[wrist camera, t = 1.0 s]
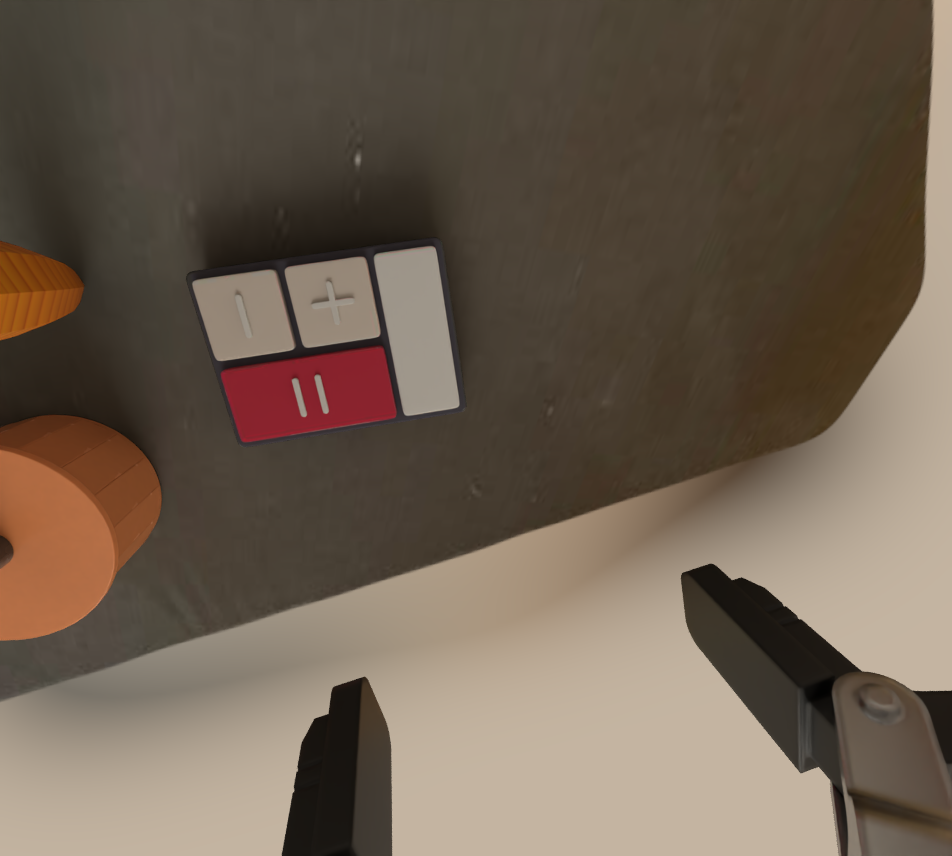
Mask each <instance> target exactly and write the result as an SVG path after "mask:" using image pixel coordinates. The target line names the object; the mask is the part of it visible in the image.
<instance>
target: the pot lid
mask: <svg viewBox="0 0 952 856" xmlns="http://www.w3.org/2000/svg"><path fill="white" fill-rule="evenodd" d="M118 555H119V549H118V542H117V537H116V533H115V530H114V527H113V524H112V522H111V520H110V518H109V516H108V514H107V512H106V511H105V509H104V508H103V506H102V505H101V503H100V502H99V501H98V499H97V498H96V497H95V496H94V495H93V494H92V492H91V491H90V490H89V489H88V488H87V487H85V486H84V485H83V484H82V483H81V482H80V481H79V480H78V479H76V478H75V477H74V476H72V475H71V474H69V473H68V472H67V471H65V470H64V469H62V468H60V467H58V466H57V465H55V464H53V463H52V462H49V461H47V460H45V459H43V458H41V457H38V456H36V455H34V454H31V453H28V452H25V451H22V450H19V449H15V448H10V447H6V446H2V445H0V640H21V639H28V638H35V637H39V636H44V635H48V634H51V633H54V632H56V631H59V630H62V629H64V628H66V627H68V626H70V625H72V624H74V623H76V622H77V621H79V620H80V619H82V618H83V617H85V616H86V615H87V614H88V613H89V612H90V611H92V610H93V609H94V608H95V607H96V606H97V604H98V603H99V602H100V601H101V600H102V599H103V597H104V596H105V595H106V593H107V592H108V590H109V588H110V587H111V585H112V583H113V580H114V578H115V575H116V571H117V566H118Z"/></svg>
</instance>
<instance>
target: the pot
mask: <svg viewBox="0 0 952 856" xmlns="http://www.w3.org/2000/svg"><path fill="white" fill-rule="evenodd" d="M0 445H2V446H6V447H10V448H15V449H19V450H22V451H25V452H28V453H31V454H34V455H36V456H38V457H41V458H43V459H45V460H47V461H49V462H52V463H53V464H55V465H57V466H58V467H60V468H62V469H64V470H65V471H67V472H68V473H69V474H71V475H72V476H74V477H75V478H76V479H78V480H79V481H80V482H81V483H82V484H83V485H84V486H85V487H87V488H88V489H89V490H90V491H91V492H92V494H93V495H94V496H95V497H96V498H97V499H98V501H99V502H100V503H101V505H102V506H103V508H104V509H105V511H106V512H107V514H108V516H109V518H110V520H111V522H112V524H113V527H114V530H115V533H116V537H117V542H118V549H119V555H118V566H117V571H116V573H117V572H118V570H119V569H120V568H121V567H122V566H123V565H124V564H125V563H126V562H127V561H128V559H129V558H130V557H131V556H132V555H133V554H134V553H135V552H136V551H137V550H138V548H139V547H140V546H141V545H142V544H143V543H144V542H145V541H146V540H147V538H148V537H149V535H150V533H151V531H152V530H153V528H154V526H155V525H156V523H157V520H158V518H159V515H160V510H161V502H162V496H161V487H160V484H159V480H158V477H157V475H156V472H155V470H154V468H153V466H152V465H151V463H150V461H149V460H148V459H147V457H146V456H145V455H144V454H143V452H142V451H141V450H140V449H139V448H138V447H137V446H136V445H135V444H134V443H132V442H131V441H130V440H129V439H127V438H126V437H125V436H123V435H122V434H120V433H119V432H117V431H115V430H114V429H112V428H110V427H108V426H105V425H103V424H101V423H98V422H95V421H93V420H89V419H85V418H81V417H76V416H69V415H44V416H38V417H33V418H29V419H26V420H23V421H19V422H16V423H12V424H8V425H6V426H3V427H1V428H0Z"/></svg>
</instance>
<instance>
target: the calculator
mask: <svg viewBox="0 0 952 856" xmlns="http://www.w3.org/2000/svg"><path fill="white" fill-rule="evenodd" d="M186 281H187V284H188V288H189V291H190V294H191V297H192V300H193V303H194V306H195V310H196V313H197V316H198V319H199V322H200V325H201V329H202V332H203V335H204V338H205V341H206V344H207V348H208V351H209V354H210V357H211V360H212V363H213V366H214V370H215V373H216V376H217V379H218V382H219V385H220V389H221V392H222V395H223V398H224V401H225V404H226V408H227V411H228V414H229V417H230V420H231V423H232V426H233V430H234V433H235V436H236V439H237V442H238V444H239V445H240V446H242V447H251V446H258V445H264V444H270V443H276V442H282V441H288V440H294V439H300V438H306V437H313V436H319V435H325V434H331V433H337V432H343V431H349V430H355V429H361V428H367V427H374V426H380V425H386V424H392V423H398V422H404V421H410V420H416V419H422V418H429V417H435V416H441V415H447V414H453V413H459V412H462V411H464V410H465V409H466V406H467V404H466V396H465V390H464V383H463V376H462V370H461V363H460V356H459V349H458V343H457V336H456V329H455V322H454V316H453V309H452V302H451V296H450V289H449V282H448V275H447V269H446V262H445V255H444V249H443V244H442V241H441V240H440V239H439V238H436V237H432V238H425V239H417V240H410V241H403V242H396V243H389V244H382V245H375V246H368V247H361V248H354V249H347V250H339V251H332V252H325V253H318V254H311V255H304V256H297V257H290V258H283V259H276V260H269V261H262V262H254V263H247V264H240V265H233V266H226V267H219V268H212V269H205V270H198V271H192V272H189V273H188V274H187V276H186Z"/></svg>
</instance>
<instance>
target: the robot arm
mask: <svg viewBox="0 0 952 856" xmlns="http://www.w3.org/2000/svg"><path fill="white" fill-rule="evenodd" d="M681 584H682V592H683V600H684V609H685V617H686V623H687V626H688V629H689V632H690V634H691V636H692V638H693V640H694V641H695V643H696V645H697V646H698V647H699V649H700V650H701V651H702V652H703V653H704V655H705V656H706V657H707V658H708V659H709V661H710V662H711V663H712V665H713V666H714V667H715V668H716V669H717V671H718V672H719V673H720V674H721V676H722V677H723V678H724V679H725V680H726V682H727V683H728V684H729V686H730V687H731V688H732V689H733V690H734V692H735V693H736V694H737V695H738V697H739V698H740V699H741V700H742V701H743V703H744V704H745V705H746V707H747V708H748V709H749V710H750V711H751V713H752V714H753V715H754V716H755V718H756V719H757V720H758V721H759V723H761V725H762V726H763V727H764V729H765V730H766V731H767V732H768V734H769V735H770V736H771V737H772V739H773V740H774V741H775V742H776V744H777V745H778V746H779V747H780V748H781V750H782V751H783V752H784V753H785V755H786V756H787V757H788V758H789V760H790V761H791V762H792V763H793V764H794V766H795V767H796V768H797V769H798V770H799V772H800V773H803V772H806V771H808V770H811V769H814V768H816V767H819V768H820V769H821V770H822V771H823V772H824V773H825V774H826V776H827V777H828V778H829V779H830V790H831V798H832V806H833V814H834V821H835V829H836V837H837V845H838V853H839V856H952V691H912V690H910V689H909V688H907V687H906V686H905V685H903V684H901V683H899V682H897V681H896V680H893V679H891V678H889V677H886V676H883V675H880V674H876V673H871V672H862V671H861V670H860V669H858V668H857V667H856V666H855V665H854V664H852V663H851V662H850V661H849V660H848V659H847V658H845V657H844V656H843V655H842V654H841V653H840V652H838V651H837V650H836V649H835V648H834V647H832V645H830V644H829V643H828V642H827V641H826V640H825V639H823V638H822V637H821V636H820V635H819V634H817V633H816V632H815V631H814V630H813V629H812V628H811V627H809V626H808V625H807V624H806V623H805V622H804V621H802V620H801V619H800V620H799V619H798V617H797V615H795V614H794V613H793V612H792V611H791V610H790V609H788V608H787V607H786V606H785V607H784V606H783V604H782V602H780V601H779V600H778V599H777V598H776V597H774V596H773V595H772V594H771V593H770V592H769V591H768V590H766V589H765V588H764V587H761V586H759V585H757V584H755V583H753V582H751V581H748V580H746V579H744V578H738V579H735V580H731V579H730V578H729V577H728V576H727V575H726V574H725V573H723V572H722V571H721V570H720V569H719V568H718V567H717V566H715V565H714V564H708V565H705V566H702V567H699V568H696V569H693V570H690V571H687V572H684V573H682V575H681ZM391 789H392V786H391V742H390V736H389V731H388V727H387V723H386V721H385V718H384V716H383V713H382V711H381V709H380V707H379V704H378V702H377V700H376V697H375V695H374V693H373V690H372V688H371V686H370V684H369V681H368V679H367V678H366V677H362V678H359V679H356V680H353V681H350V682H347V683H344V684H341V685H338V686H335V687H333V689H332V692H331V700H330V708H329V714H327V715H324V716H321V717H318V718H315V719H314V721H313V723H312V724H311V726H310V728H309V730H308V732H307V734H306V736H305V738H304V739H303V741H302V744H301V750H300V756H299V761H298V772H297V773H296V778H295V784H294V790H295V791H294V792H293V795H292V800H291V807H290V812H289V817H288V823H287V829H286V834H285V840H284V846H283V851H282V856H392V793H391V792H392V790H391Z"/></svg>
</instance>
